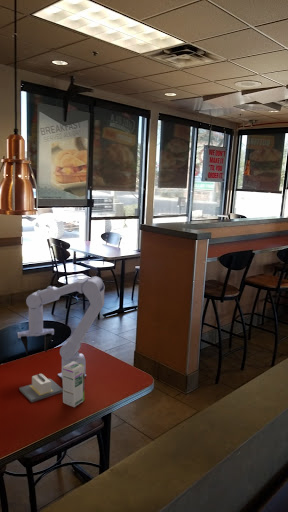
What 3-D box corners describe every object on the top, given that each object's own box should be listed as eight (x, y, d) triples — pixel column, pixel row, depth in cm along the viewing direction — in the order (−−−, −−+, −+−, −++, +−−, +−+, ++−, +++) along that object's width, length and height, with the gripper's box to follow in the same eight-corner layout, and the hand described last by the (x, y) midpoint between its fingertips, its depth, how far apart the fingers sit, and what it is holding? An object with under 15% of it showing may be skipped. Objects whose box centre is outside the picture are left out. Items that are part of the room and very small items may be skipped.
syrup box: (74, 407, 143) (74, 370, 141) (62, 402, 146) (62, 365, 144) (84, 401, 148) (85, 364, 146) (72, 396, 151) (72, 360, 149)
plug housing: (41, 382, 158) (41, 371, 157) (50, 391, 152) (50, 379, 151) (32, 385, 156) (31, 374, 155) (41, 394, 150) (41, 382, 149)
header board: (50, 380, 162) (50, 371, 162) (63, 391, 154) (63, 382, 153) (19, 390, 154) (19, 380, 154) (31, 402, 146) (31, 392, 145)
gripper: (18, 326, 158) (19, 358, 161) (55, 322, 164) (55, 353, 166) (17, 320, 165) (17, 351, 167) (52, 317, 170) (52, 347, 173)
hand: (36, 352), depth 167 cm, fingers open, 7 cm apart
